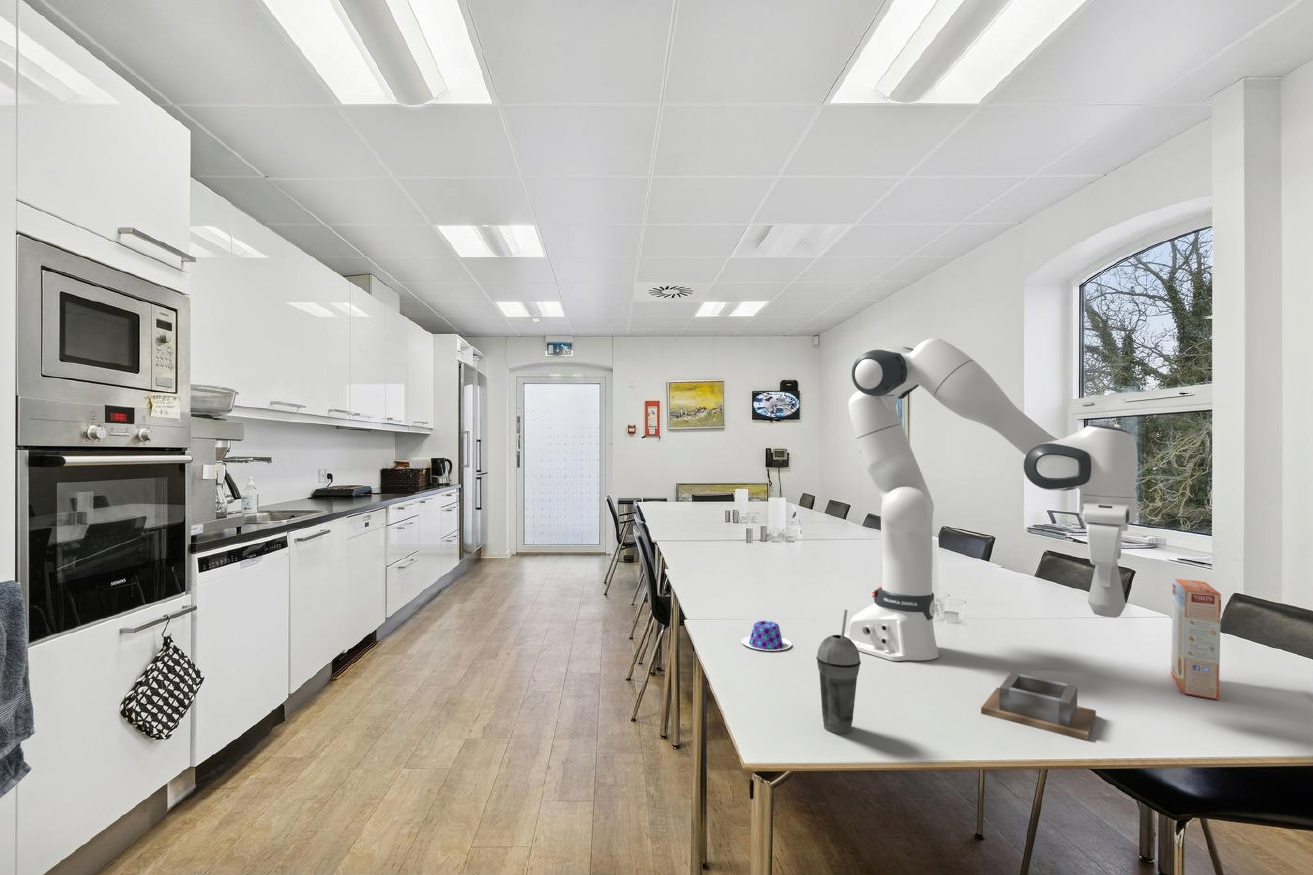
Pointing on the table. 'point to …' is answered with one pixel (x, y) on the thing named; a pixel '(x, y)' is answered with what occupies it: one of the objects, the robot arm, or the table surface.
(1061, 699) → the socket block
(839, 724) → the beverage cup
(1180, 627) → the cracker box
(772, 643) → the pudding
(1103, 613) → the salt shaker
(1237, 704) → the table surface
